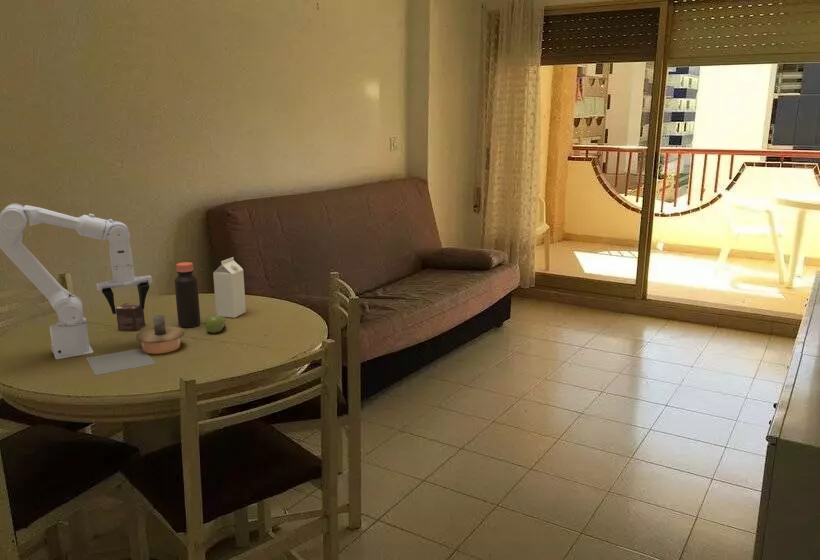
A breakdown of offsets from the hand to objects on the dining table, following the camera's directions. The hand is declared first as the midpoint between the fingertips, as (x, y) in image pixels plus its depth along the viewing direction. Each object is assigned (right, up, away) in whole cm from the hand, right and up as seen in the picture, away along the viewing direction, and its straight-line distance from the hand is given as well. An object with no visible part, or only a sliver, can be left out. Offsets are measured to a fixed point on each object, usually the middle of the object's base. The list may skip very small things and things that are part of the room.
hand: (128, 310), depth 192 cm
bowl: (+10, -11, 0) cm, 15 cm away
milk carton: (+21, -3, +32) cm, 39 cm away
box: (-7, -6, +18) cm, 20 cm away
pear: (+21, -7, +17) cm, 27 cm away
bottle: (+11, -6, +21) cm, 24 cm away
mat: (+3, -13, -11) cm, 17 cm away
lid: (+10, -7, -2) cm, 12 cm away
